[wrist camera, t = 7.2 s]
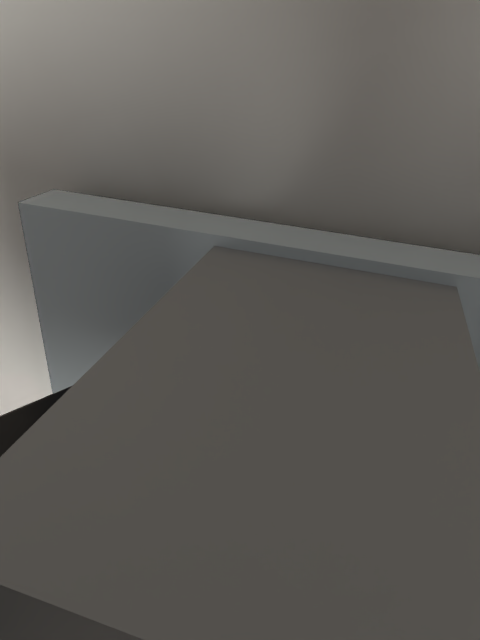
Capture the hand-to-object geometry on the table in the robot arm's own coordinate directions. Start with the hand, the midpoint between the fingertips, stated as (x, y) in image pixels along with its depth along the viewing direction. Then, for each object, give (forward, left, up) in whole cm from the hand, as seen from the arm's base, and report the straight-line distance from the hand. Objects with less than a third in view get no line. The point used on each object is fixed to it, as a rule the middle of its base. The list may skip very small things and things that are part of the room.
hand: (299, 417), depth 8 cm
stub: (0, -1, -2) cm, 3 cm away
